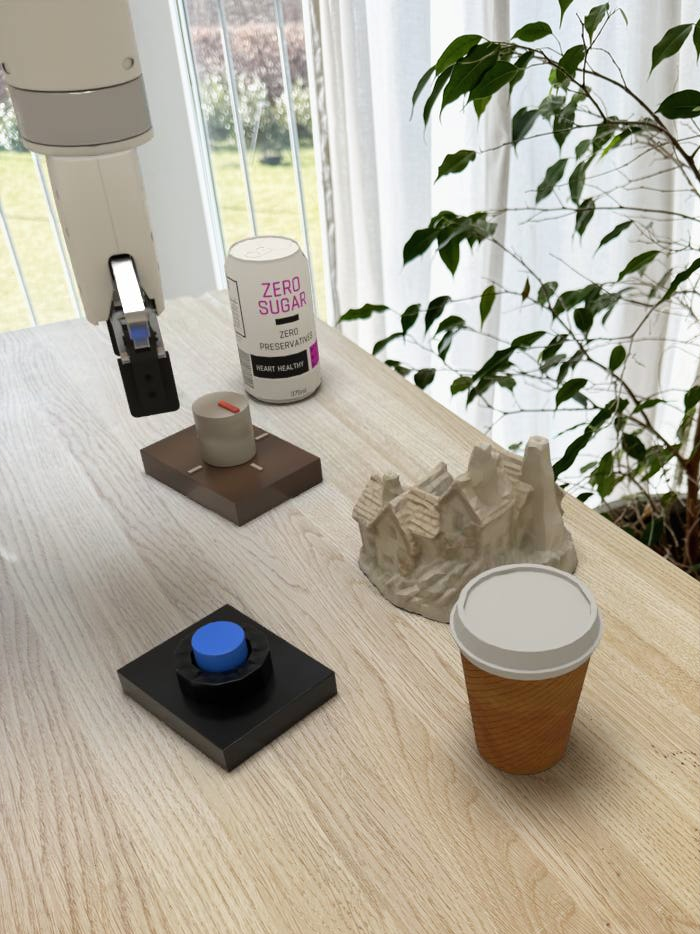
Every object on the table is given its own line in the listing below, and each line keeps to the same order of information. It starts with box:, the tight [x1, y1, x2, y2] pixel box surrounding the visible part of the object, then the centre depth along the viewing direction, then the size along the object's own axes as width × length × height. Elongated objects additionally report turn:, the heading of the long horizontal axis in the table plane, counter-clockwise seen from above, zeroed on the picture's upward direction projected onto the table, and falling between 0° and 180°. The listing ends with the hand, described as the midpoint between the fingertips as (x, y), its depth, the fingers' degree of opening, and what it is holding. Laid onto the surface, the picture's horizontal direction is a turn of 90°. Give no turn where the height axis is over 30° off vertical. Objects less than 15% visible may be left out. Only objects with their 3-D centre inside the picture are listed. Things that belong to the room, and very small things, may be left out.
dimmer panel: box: [139, 423, 324, 527], centre depth 94 cm, size 14×10×3 cm
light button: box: [191, 621, 248, 673], centre depth 70 cm, size 4×4×2 cm
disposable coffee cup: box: [449, 563, 605, 775], centre depth 65 cm, size 10×10×12 cm
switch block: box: [116, 603, 338, 774], centre depth 71 cm, size 12×10×4 cm
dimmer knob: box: [191, 390, 256, 467], centre depth 91 cm, size 5×5×5 cm
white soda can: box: [223, 234, 322, 404], centre depth 103 cm, size 8×8×15 cm
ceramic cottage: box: [351, 435, 579, 624], centre depth 80 cm, size 16×16×15 cm
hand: (146, 380), depth 70 cm, fingers open, 9 cm apart
